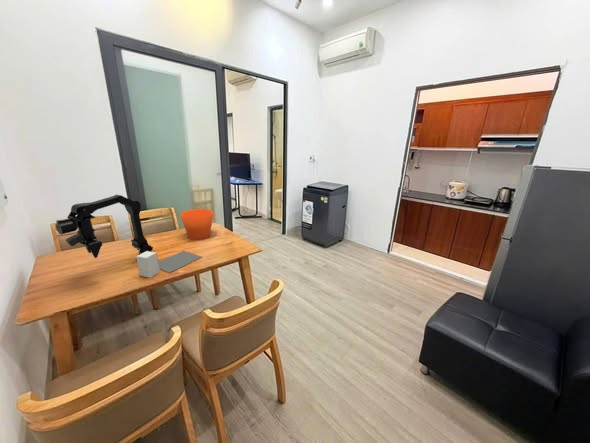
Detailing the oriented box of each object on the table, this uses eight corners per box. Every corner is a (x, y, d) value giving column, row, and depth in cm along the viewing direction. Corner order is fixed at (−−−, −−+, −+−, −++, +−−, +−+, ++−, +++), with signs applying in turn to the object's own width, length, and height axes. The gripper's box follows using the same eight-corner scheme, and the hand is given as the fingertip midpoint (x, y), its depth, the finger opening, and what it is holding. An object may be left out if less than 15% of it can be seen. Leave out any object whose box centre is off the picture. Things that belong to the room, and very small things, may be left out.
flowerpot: (208, 228, 212) (207, 207, 206) (220, 237, 194) (218, 214, 188) (178, 234, 197) (175, 211, 191) (188, 245, 179) (185, 219, 173)
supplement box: (160, 271, 142) (157, 252, 138) (150, 278, 135) (146, 258, 131) (150, 269, 144) (146, 250, 140) (139, 276, 137) (135, 256, 133)
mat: (184, 251, 168) (184, 250, 168) (202, 257, 160) (202, 256, 160) (150, 265, 148) (150, 264, 148) (169, 273, 140) (169, 272, 140)
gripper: (60, 228, 123) (68, 255, 128) (70, 237, 112) (79, 266, 117) (87, 222, 131) (94, 248, 136) (99, 230, 121) (106, 258, 126)
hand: (93, 255), depth 129 cm, fingers open, 9 cm apart
